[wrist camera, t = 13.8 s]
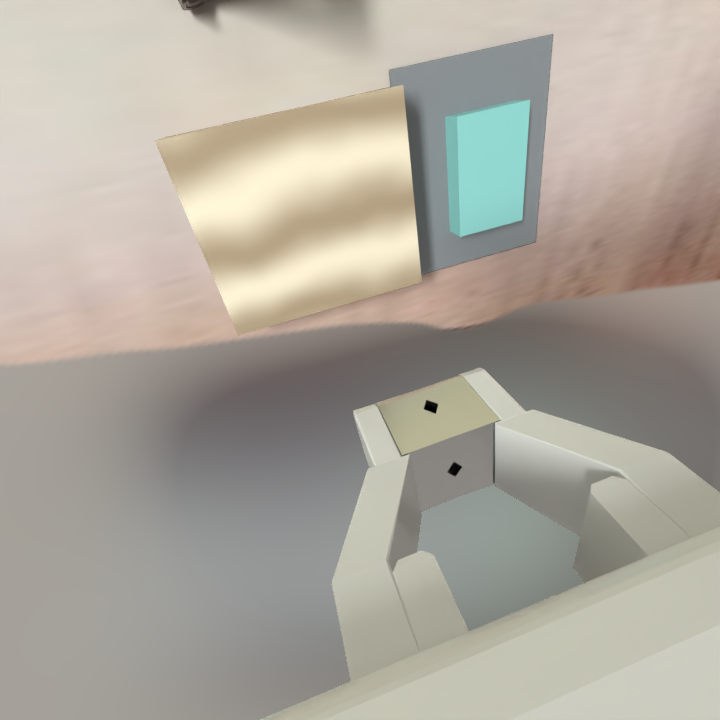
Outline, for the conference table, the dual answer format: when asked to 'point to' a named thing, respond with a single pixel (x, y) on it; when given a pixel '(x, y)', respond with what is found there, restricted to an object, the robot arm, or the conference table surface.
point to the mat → (428, 140)
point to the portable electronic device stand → (191, 3)
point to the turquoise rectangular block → (486, 166)
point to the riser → (302, 206)
